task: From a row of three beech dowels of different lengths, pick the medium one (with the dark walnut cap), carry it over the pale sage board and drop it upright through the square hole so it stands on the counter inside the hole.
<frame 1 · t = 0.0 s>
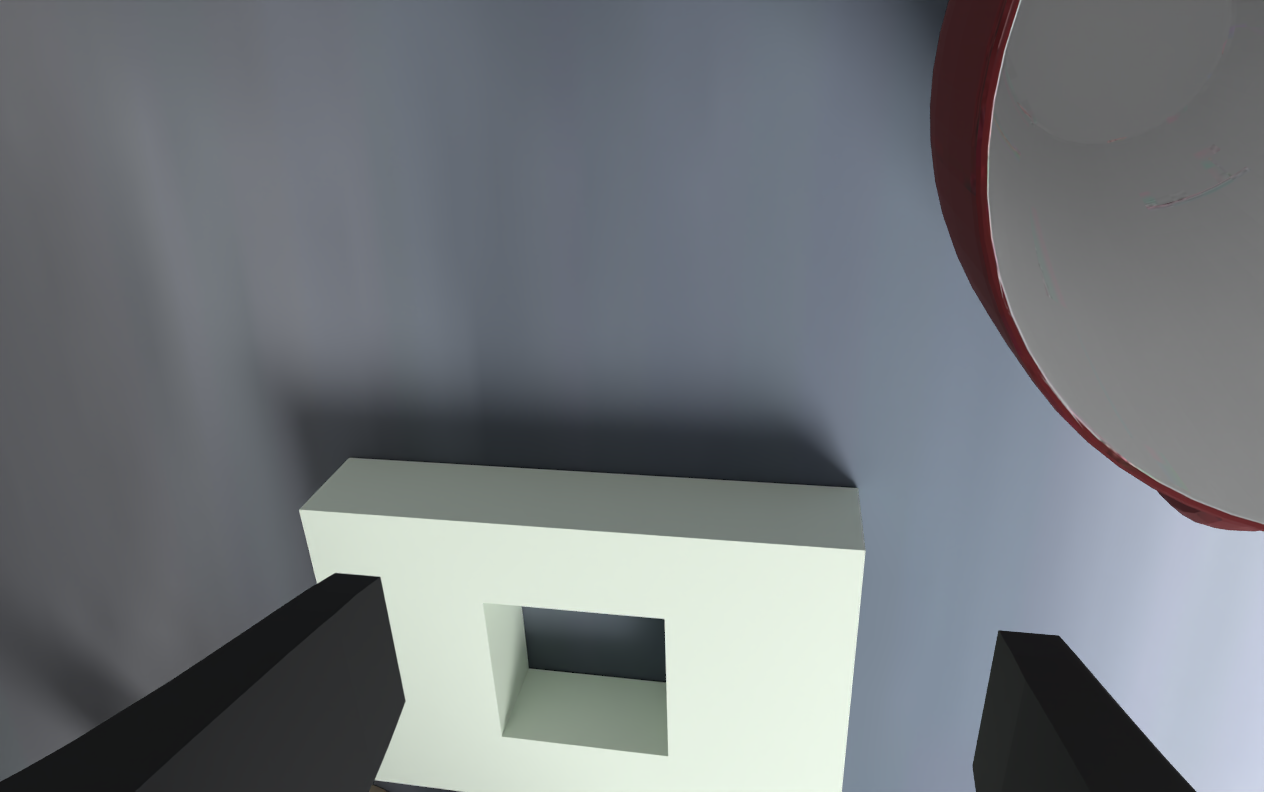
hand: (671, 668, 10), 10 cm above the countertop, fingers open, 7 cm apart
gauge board: (599, 614, 23), on the countertop
mug: (1113, 105, 16), on the countertop
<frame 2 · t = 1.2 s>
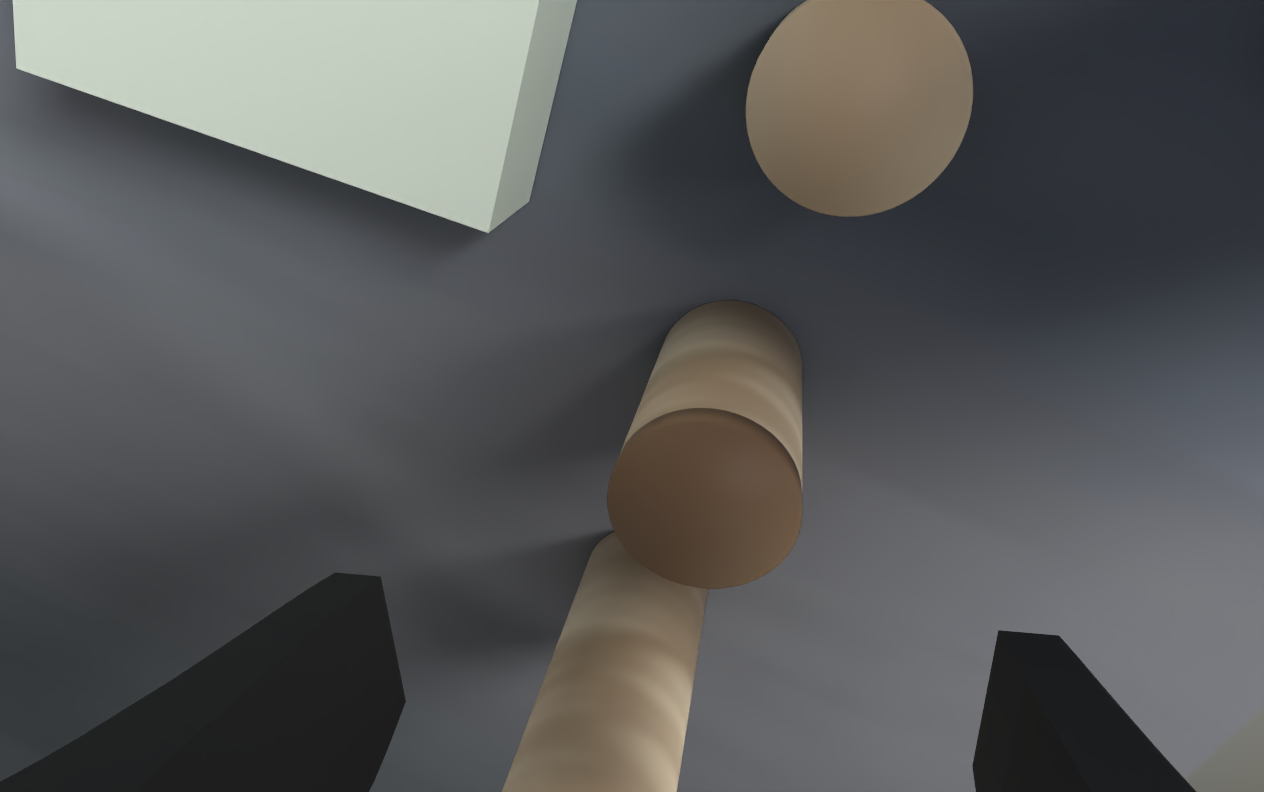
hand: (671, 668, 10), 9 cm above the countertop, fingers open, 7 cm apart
dowel medium: (730, 367, 18), on the countertop
dowel short: (843, 80, 15), on the countertop
dowel long: (647, 577, 21), on the countertop
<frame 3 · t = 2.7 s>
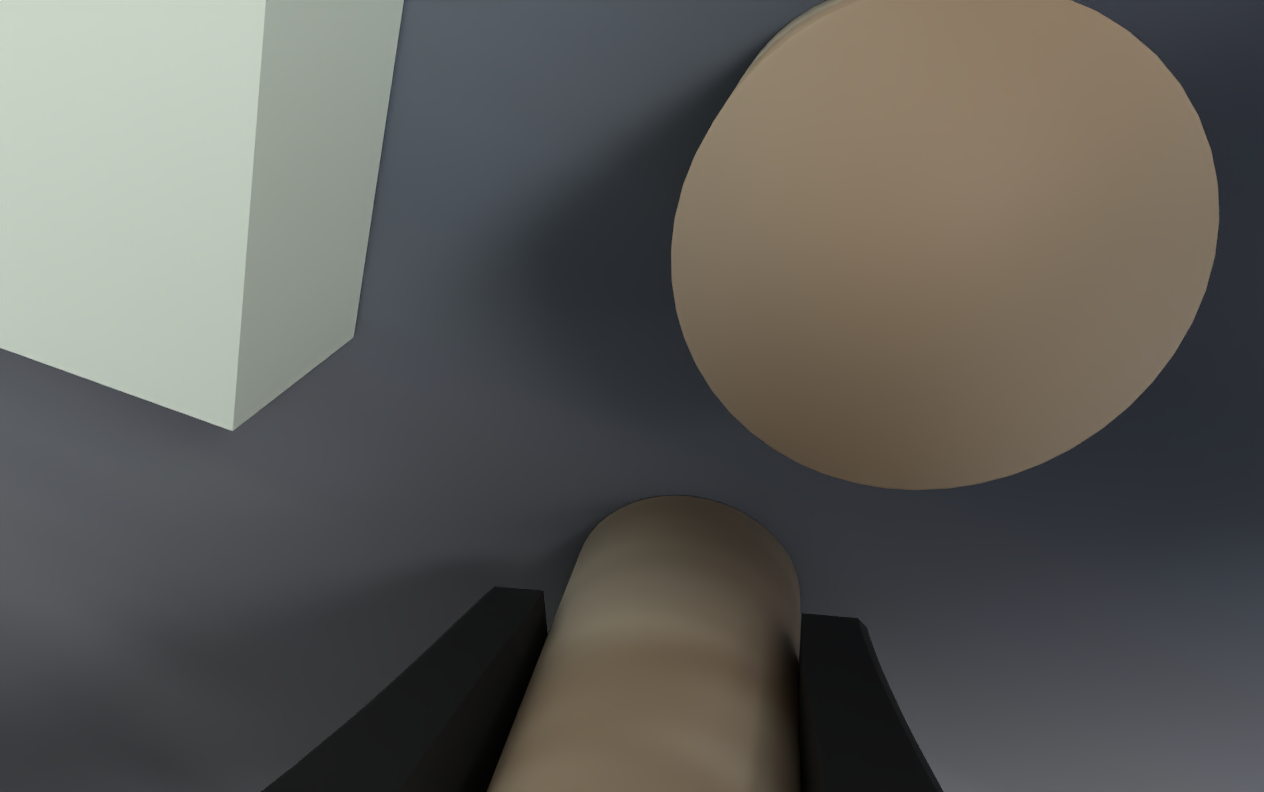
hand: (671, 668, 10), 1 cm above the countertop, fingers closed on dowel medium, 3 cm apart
dowel medium: (685, 591, 11), on the countertop, touching gripper
dowel short: (872, 152, 8), on the countertop
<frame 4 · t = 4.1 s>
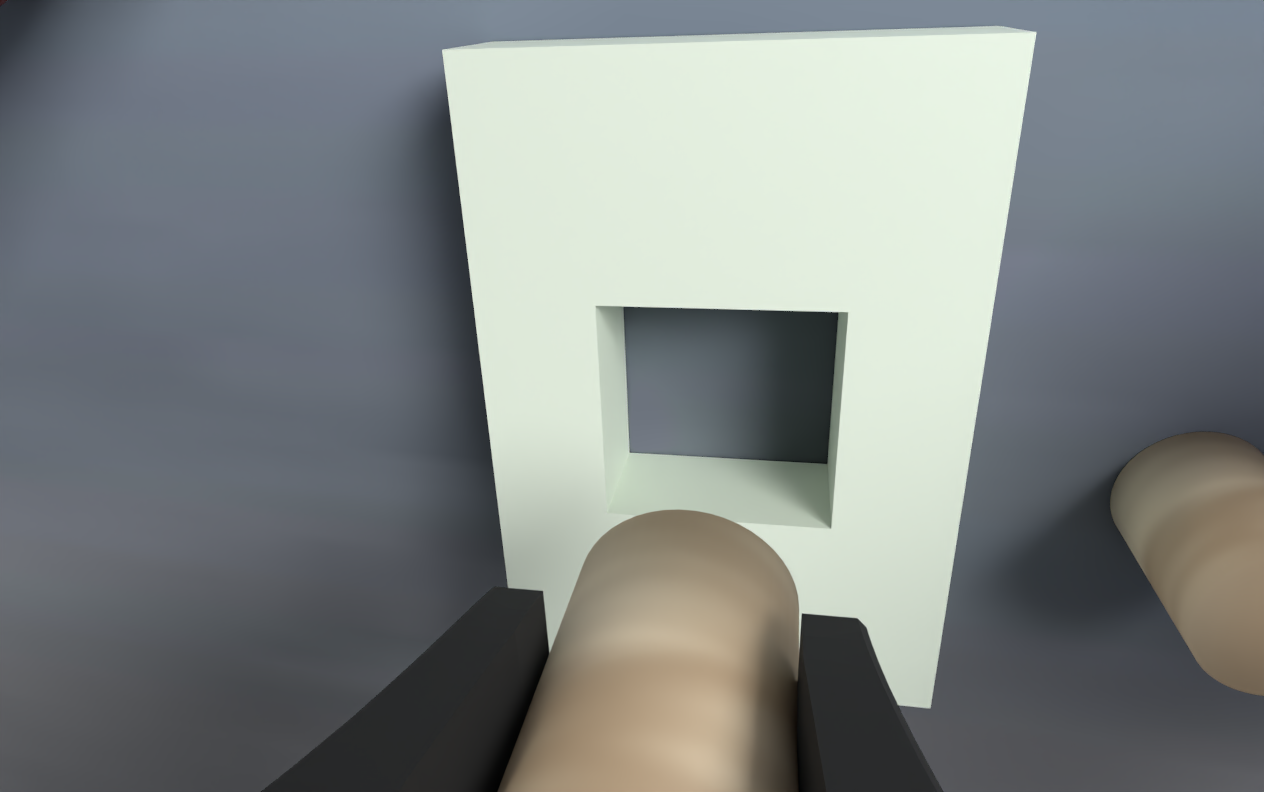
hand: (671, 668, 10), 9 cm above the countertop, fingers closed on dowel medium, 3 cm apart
dowel medium: (686, 602, 11), point 7 cm above the countertop, touching gripper
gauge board: (727, 367, 18), on the countertop
dowel short: (1190, 496, 17), on the countertop
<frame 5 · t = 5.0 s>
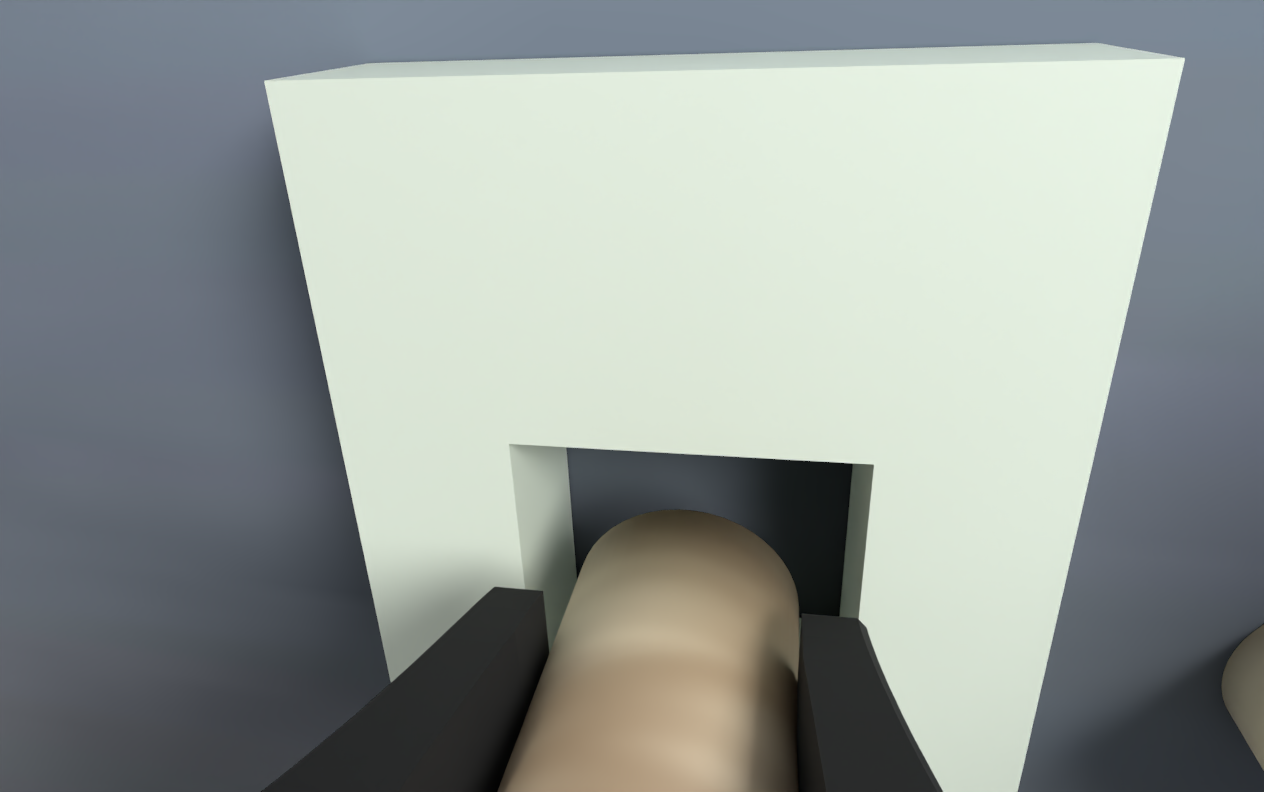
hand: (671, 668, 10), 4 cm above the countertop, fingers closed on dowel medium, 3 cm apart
dowel medium: (686, 603, 11), point 2 cm above the countertop, touching gripper
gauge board: (705, 498, 13), on the countertop
when the fingers open (3 cm above the countertop, at t = 5.8 s): dowel medium drops 2 cm, resting in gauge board.
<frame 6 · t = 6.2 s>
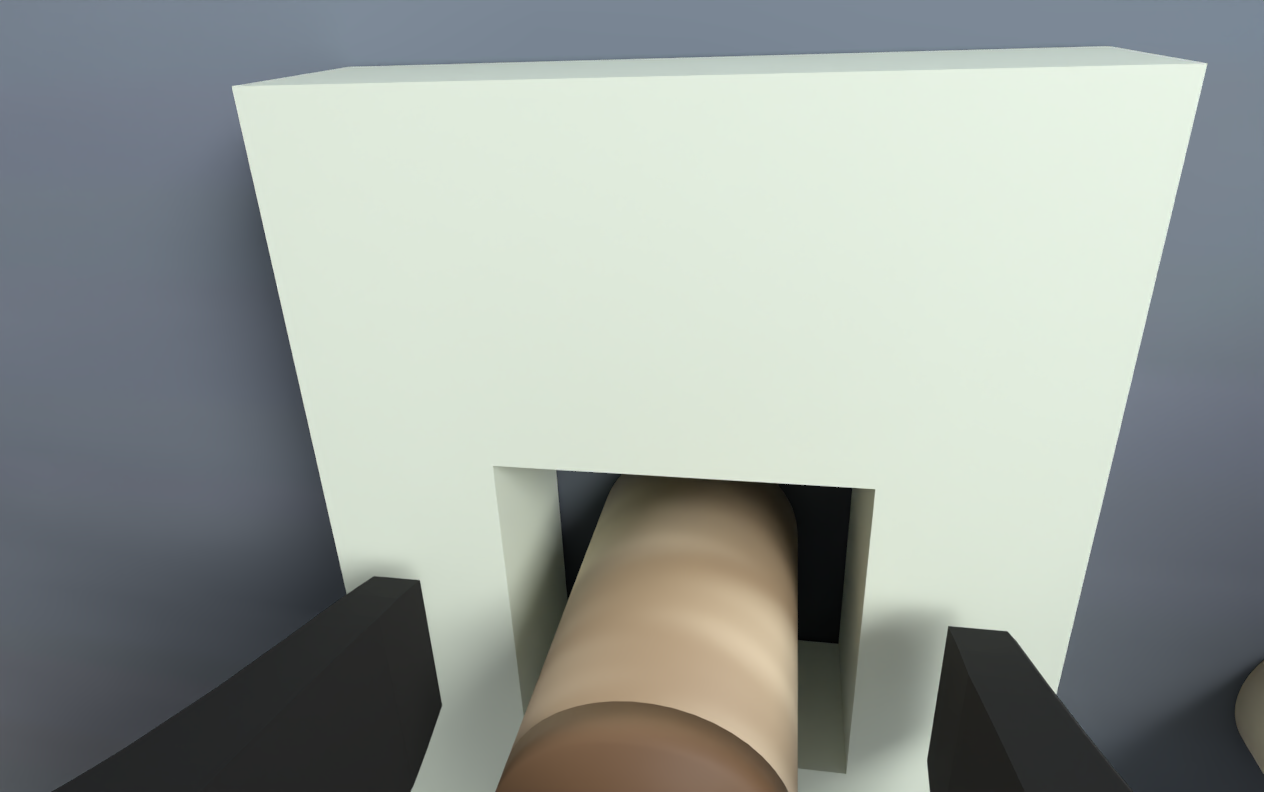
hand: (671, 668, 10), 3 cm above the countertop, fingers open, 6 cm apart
dowel medium: (698, 532, 13), resting in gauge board
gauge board: (699, 517, 13), on the countertop
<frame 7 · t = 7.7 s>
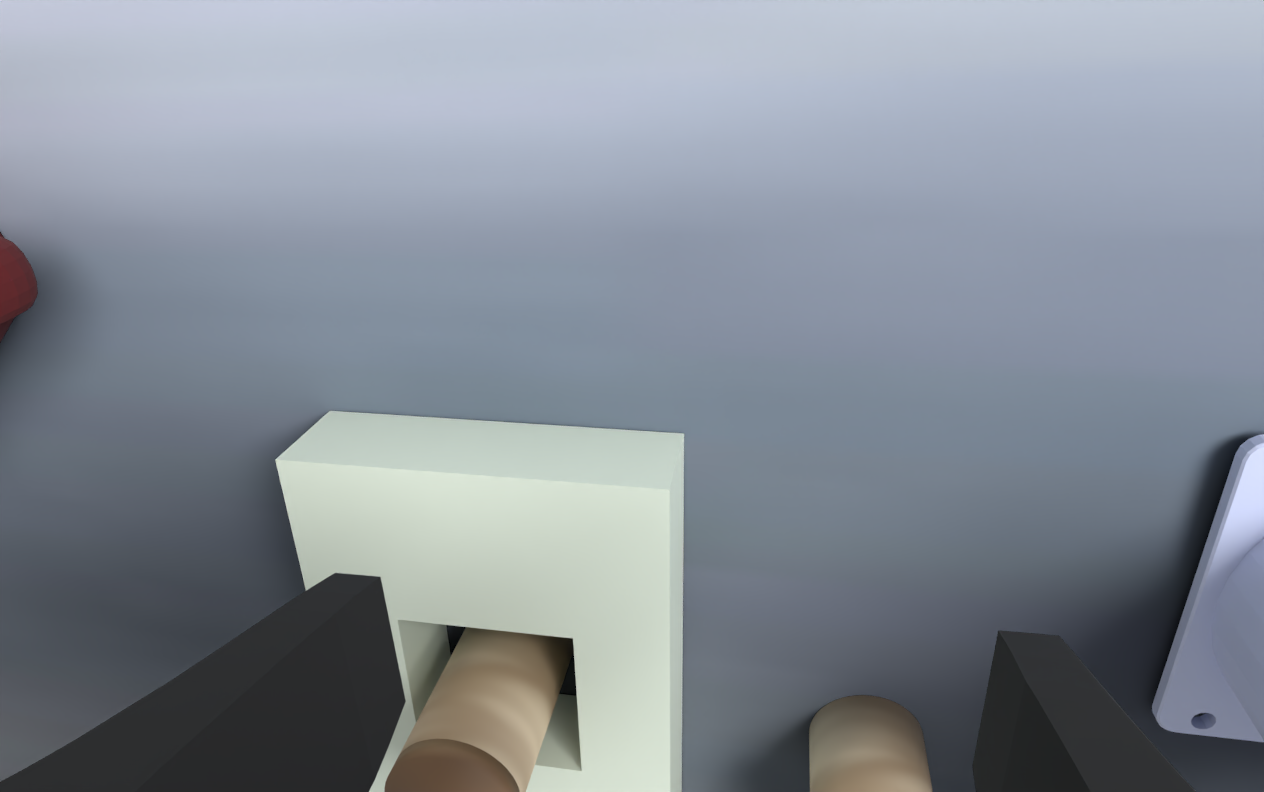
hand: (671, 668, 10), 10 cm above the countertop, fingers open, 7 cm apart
dowel medium: (521, 637, 23), resting in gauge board
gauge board: (521, 630, 23), on the countertop
dowel short: (865, 737, 23), on the countertop
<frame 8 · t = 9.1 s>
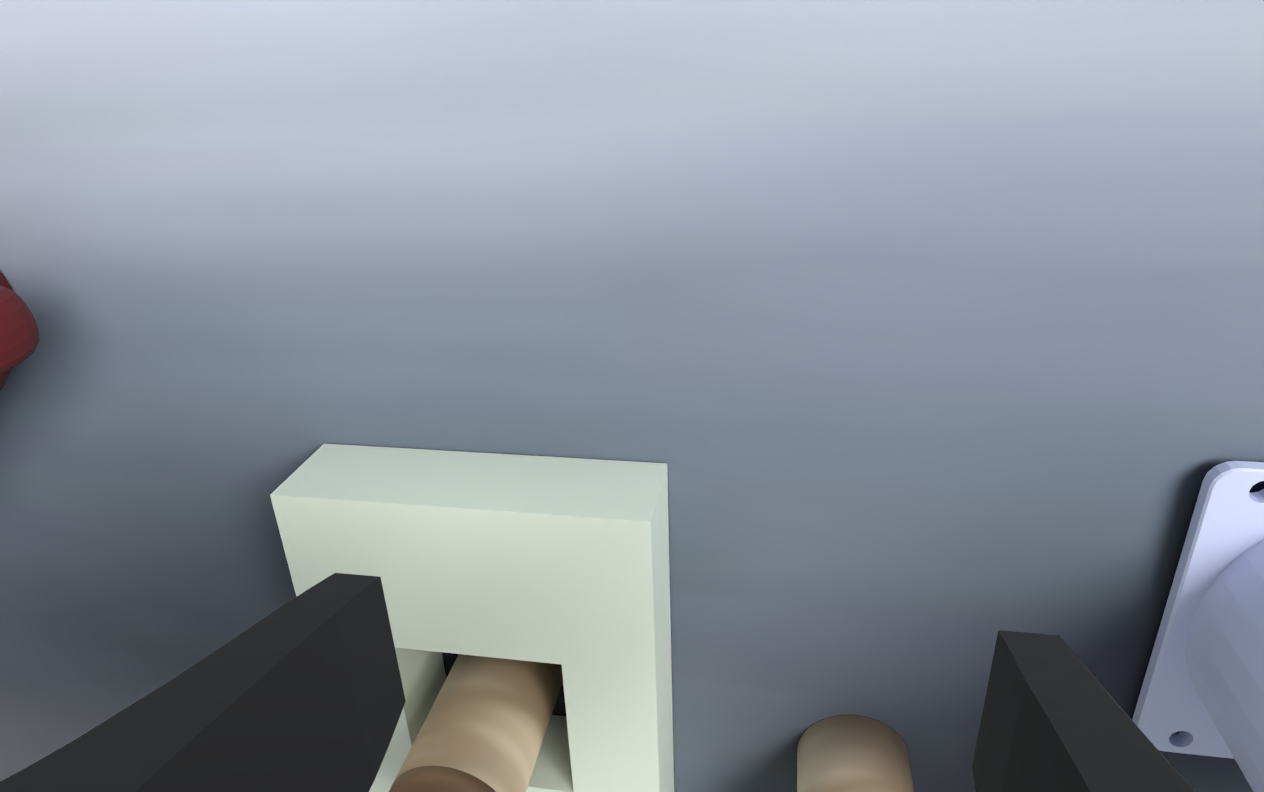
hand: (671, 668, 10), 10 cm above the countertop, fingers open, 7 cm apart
dowel medium: (514, 660, 24), resting in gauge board
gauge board: (514, 653, 24), on the countertop
dowel short: (852, 755, 23), on the countertop
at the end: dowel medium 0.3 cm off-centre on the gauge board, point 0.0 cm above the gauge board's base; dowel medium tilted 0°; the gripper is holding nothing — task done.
